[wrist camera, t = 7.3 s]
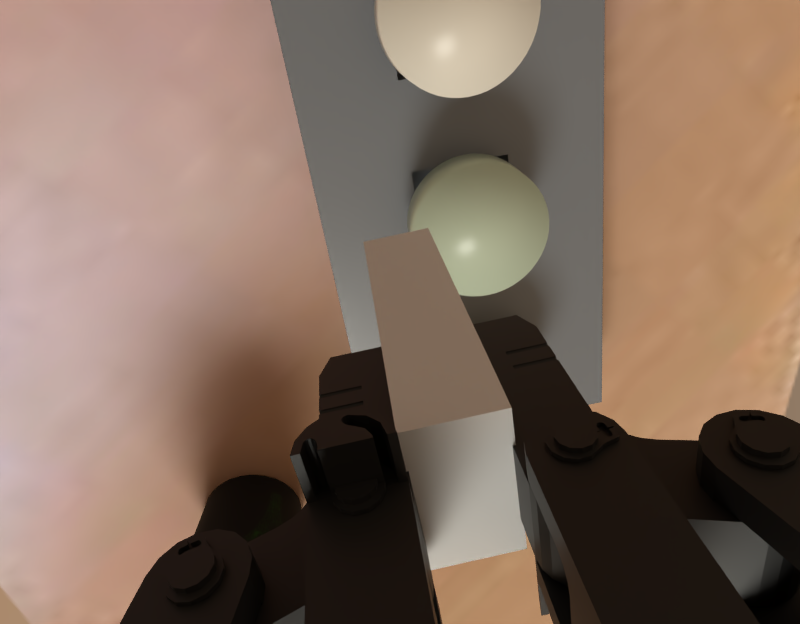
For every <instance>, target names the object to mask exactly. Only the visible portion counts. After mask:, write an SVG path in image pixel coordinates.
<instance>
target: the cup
mask: <svg viewBox="0 0 800 624" xmlns="http://www.w3.org/2000/svg"><path fill="white" fill-rule="evenodd" d="M300 510H301V504H300V501H299V498H298V497H297V495H296V494H295V492H294V491H293V490H292V489H291V488H290V487H289V486H287V485H286V484H285V483H283V482H281V481H279V480H277V479H274V478H270V477H267V476H259V475H248V476H240V477H237V478H233V479H230V480H228V481H226V482H224V483H223V484H221V485H220V486H218V487H217V488H216V489H215V490H214V491H213V492H212V494H211V495H210V497H209V498H208V500H207V503H206V506H205V508H204V511H203V513H202V516H201V519H200V521H199V524H198V526H197V529H196V532H195V534H197V533H200V532H205V531H210V530H215V529H221V530H227V531H233V532H236V533H237V534H238V535H240V536H241V537H242V538H243V539H245V540H246V541H247V542H249V541H251V540H253V539H255V538H257V537H259V536H261V535H263V534H265V533H267V532H269V531H271V530H273V529H275V528H277V527H278V526H280V525H282V524H283V523H285V522H287V521H288V520H290V519H291V518H292V517H294V516H295V515H296V514H297V513H298V512H299V511H300ZM195 534H194V535H195Z"/></svg>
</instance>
